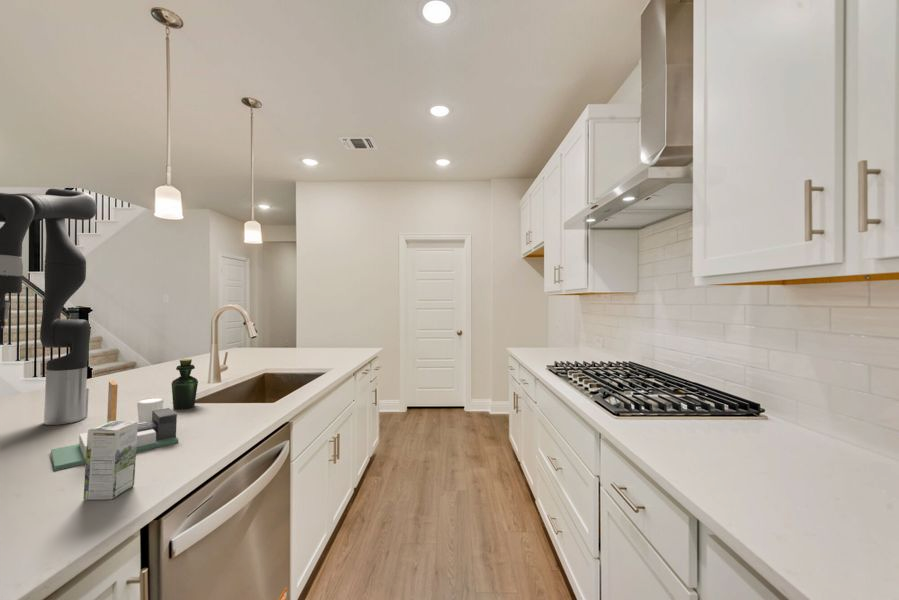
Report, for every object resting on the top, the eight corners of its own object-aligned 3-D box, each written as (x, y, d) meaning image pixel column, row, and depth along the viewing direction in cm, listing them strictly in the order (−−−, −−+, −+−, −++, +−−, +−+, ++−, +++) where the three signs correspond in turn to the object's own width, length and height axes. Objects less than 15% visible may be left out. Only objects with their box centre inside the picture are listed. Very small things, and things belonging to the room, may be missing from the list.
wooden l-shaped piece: (110, 436, 95) (112, 385, 95) (106, 430, 99) (108, 381, 99) (168, 425, 105) (170, 378, 105) (163, 420, 108) (165, 375, 109)
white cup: (131, 422, 118) (132, 401, 118) (155, 416, 124) (156, 396, 124) (144, 425, 115) (145, 404, 115) (167, 419, 122) (168, 399, 122)
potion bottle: (196, 408, 134) (198, 360, 134) (168, 411, 130) (170, 362, 130) (197, 403, 141) (199, 357, 141) (171, 405, 137) (173, 358, 137)
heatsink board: (54, 470, 85) (55, 438, 85) (51, 453, 94) (52, 424, 94) (178, 442, 103) (179, 416, 103) (165, 430, 112) (166, 406, 112)
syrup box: (107, 486, 79) (109, 420, 79) (135, 486, 79) (138, 420, 79) (82, 500, 73) (85, 429, 73) (113, 500, 73) (116, 429, 74)
